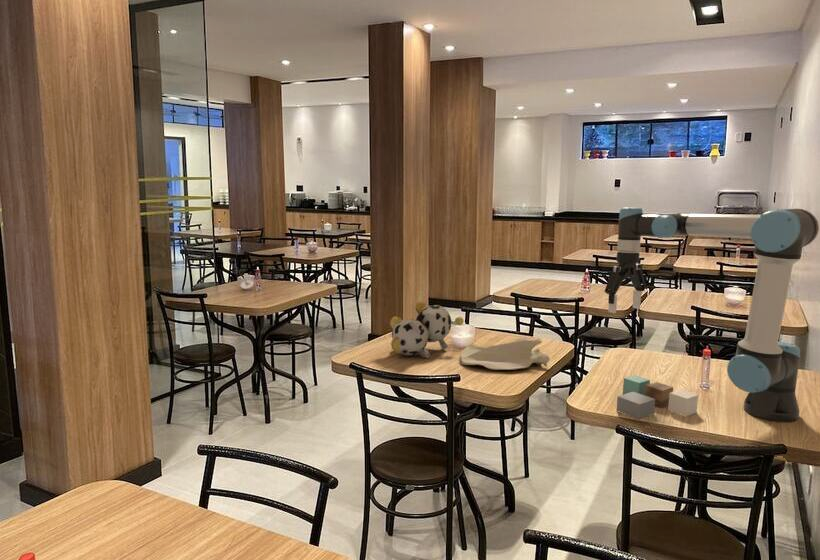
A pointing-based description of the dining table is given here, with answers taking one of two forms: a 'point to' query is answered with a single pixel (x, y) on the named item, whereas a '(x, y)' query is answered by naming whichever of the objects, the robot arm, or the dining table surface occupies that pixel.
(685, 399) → the white cube
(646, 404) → the platform block
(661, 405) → the walnut cube
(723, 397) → the dining table surface
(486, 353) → the beige wavy platter
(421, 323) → the toy
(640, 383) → the teal cube
